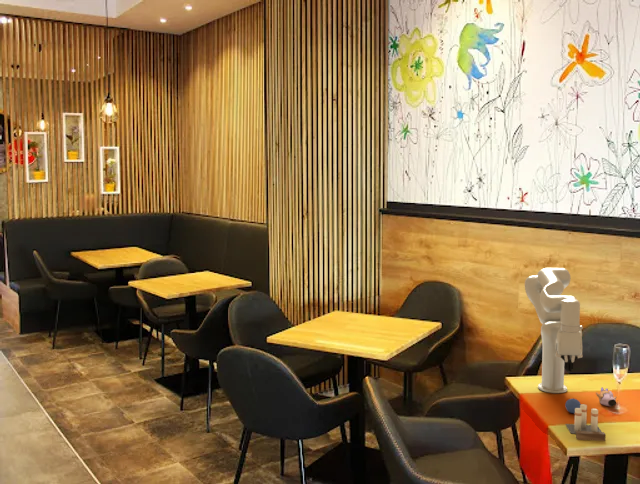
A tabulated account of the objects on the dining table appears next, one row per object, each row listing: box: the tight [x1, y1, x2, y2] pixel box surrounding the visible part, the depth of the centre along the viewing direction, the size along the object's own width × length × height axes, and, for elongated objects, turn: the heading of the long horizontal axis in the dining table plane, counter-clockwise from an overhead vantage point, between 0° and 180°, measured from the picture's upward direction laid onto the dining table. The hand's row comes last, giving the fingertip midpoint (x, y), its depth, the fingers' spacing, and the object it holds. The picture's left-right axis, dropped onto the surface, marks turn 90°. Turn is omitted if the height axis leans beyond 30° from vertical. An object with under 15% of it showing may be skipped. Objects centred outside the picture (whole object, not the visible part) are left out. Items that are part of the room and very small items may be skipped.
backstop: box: [575, 431, 607, 442], centre depth 243 cm, size 2×10×2 cm, turn 82°
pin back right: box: [573, 408, 582, 432], centre depth 249 cm, size 2×2×9 cm
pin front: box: [580, 403, 588, 428], centre depth 253 cm, size 2×2×9 cm
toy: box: [595, 387, 617, 407], centre depth 278 cm, size 9×6×15 cm
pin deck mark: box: [564, 423, 603, 435], centre depth 252 cm, size 9×12×1 cm
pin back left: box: [590, 408, 599, 432], centre depth 248 cm, size 2×2×9 cm
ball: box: [564, 398, 581, 414], centre depth 268 cm, size 6×6×6 cm
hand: (568, 370), depth 276 cm, fingers closed
